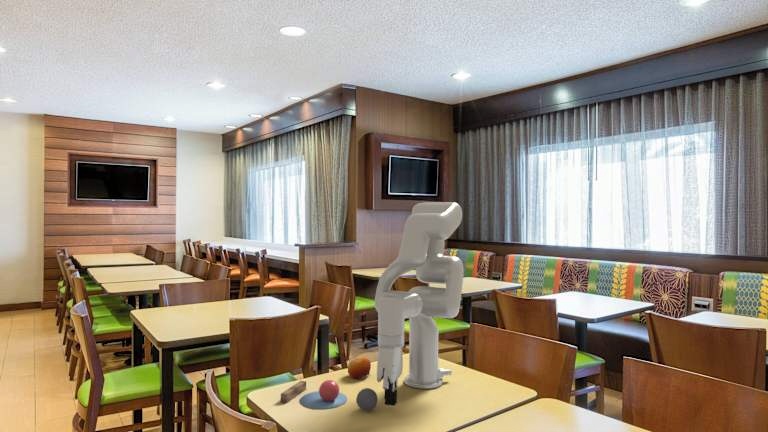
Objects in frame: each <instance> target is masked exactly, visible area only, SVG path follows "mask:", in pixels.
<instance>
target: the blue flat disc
mask: <svg viewBox="0 0 768 432" xmlns="http://www.w3.org/2000/svg"><path fill="white" fill-rule="evenodd" d="M347 402H348V397H347V395H346V394H344V393H342V392H340V391H339V395H338V397H337V398H336V399H335V400H333V401H329V402H328V401H325V400H323V399H322V398H321V397H320V394H319V390H318V391H312V392H309V393H306V394H303V395H302V396H301V397H300V399H299V404H301V405H302V406H303V407H305V408H308V409H314V410H329V409H336V408H338V407H341V406H343V405H345V404H346V403H347Z"/></svg>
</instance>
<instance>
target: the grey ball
mask: <svg viewBox="0 0 768 432" xmlns="http://www.w3.org/2000/svg"><path fill="white" fill-rule="evenodd" d="M377 404H378V394H377V393H376V391H375V390H374V389H372V388H368V387H366V388H362V389H361V390H359V392H358V393H357V396H356V405H357V406H358V408H359V409H360V410H361V411H364V412H365V411H366V412H369V411H372V410H373V409H375V407H377Z"/></svg>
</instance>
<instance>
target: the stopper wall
mask: <svg viewBox="0 0 768 432" xmlns="http://www.w3.org/2000/svg"><path fill="white" fill-rule="evenodd" d="M306 390H307V381H304V380H299V381H298V382H297V383H294V384H293V385H292V386H289V388H287V389H286V390H284V391H283V392H281V393H280V403H283V404H287V403H289V402H290V401H292V400H293V399H294V398H296V397H298V396H299V395H300V394H302V393H303V392H304V391H306Z"/></svg>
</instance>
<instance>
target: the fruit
mask: <svg viewBox="0 0 768 432" xmlns="http://www.w3.org/2000/svg"><path fill="white" fill-rule="evenodd" d="M371 367H372V364H371V361H370V359H369V357H366V356H363V355H359V356H357V357H354V358H353V359H351V360H350V361H349V363H348V366H347V373H348V375H349V376H350V377H351V378H353V379H355V380H359V379H360V380H361V379H367V376H370V372H371Z"/></svg>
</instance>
